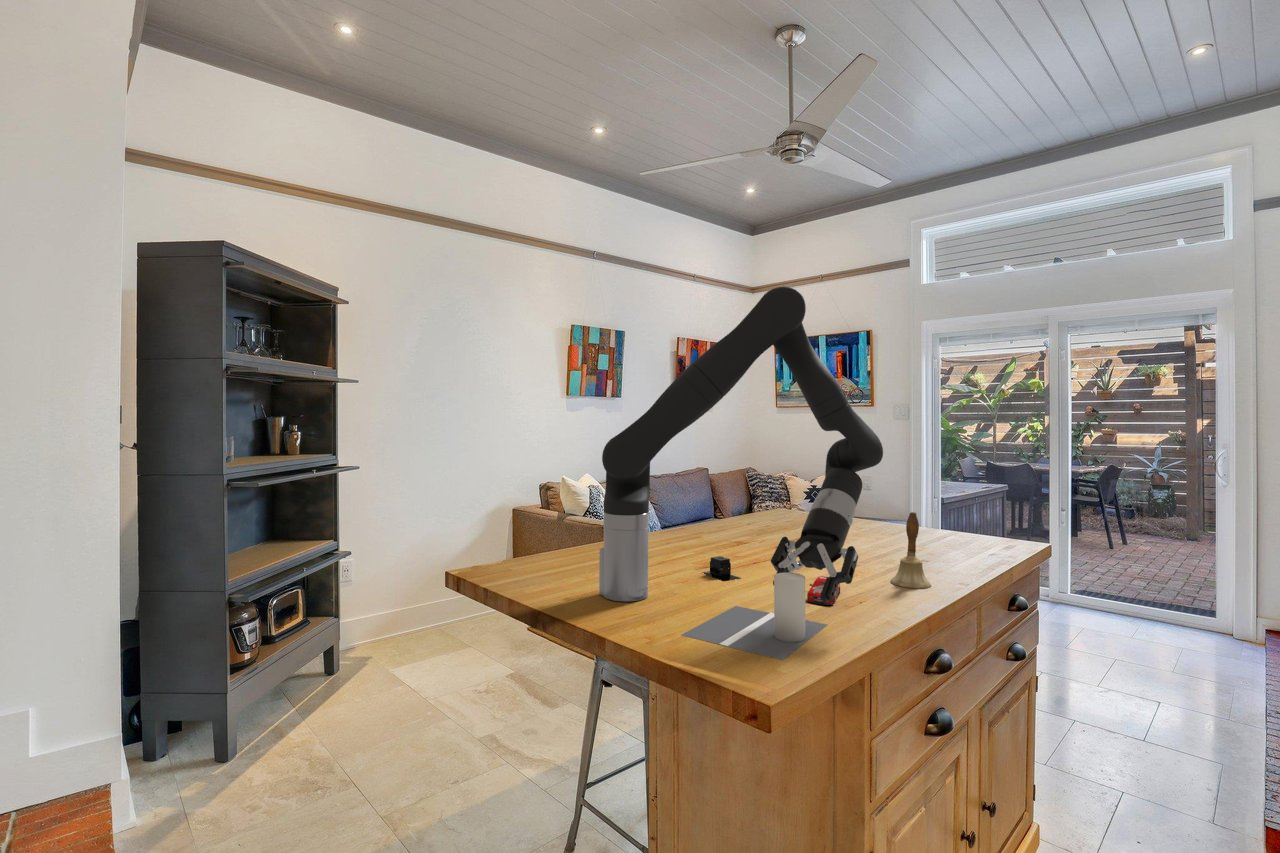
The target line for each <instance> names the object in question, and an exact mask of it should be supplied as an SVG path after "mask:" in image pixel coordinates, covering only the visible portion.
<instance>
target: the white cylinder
mask: <svg viewBox="0 0 1280 853" xmlns="http://www.w3.org/2000/svg"><path fill="white" fill-rule="evenodd" d="M776 573H777V572H776ZM776 573H775V574H774V576H773V581H774V585H773V590H774V591H773V592H774V593H773V595H774V596H773V598H774V600H773V602H774V604H773V609H774V610H773V611H774V612H773V613H774V636H775V637H776V638H777V639H779V640H782V641H786V642H799V641H803V640H804V639H805V620H806V576H805V575H804V574H801V573H796V572H791V573H777V574H776Z"/></svg>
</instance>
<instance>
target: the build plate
mask: <svg viewBox="0 0 1280 853" xmlns="http://www.w3.org/2000/svg"><path fill="white" fill-rule="evenodd" d="M731 567H732V563H731V559H730V558H727V557H724V556H721V555H720V556H719V555H717V556H712V557H710V561H709V570H708V571H707V572H706V571H702V573H704V574H706V575H705V576H707V575H708V576H707V577H710V576H711V577H710V578H713V579H715V578H716V580H719V581H722V582H729V581H735V579H737V580H742V579H741V578H742V577H740V576H737V575H735V574H734V575H733V574H732V573H731V572H732V568H731ZM702 573H701V574H702ZM704 574H703V575H704Z"/></svg>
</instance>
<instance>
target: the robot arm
mask: <svg viewBox="0 0 1280 853" xmlns="http://www.w3.org/2000/svg"><path fill="white" fill-rule="evenodd" d="M806 306H807V305H806V301H805V297H804V295H802V293H801V292H800V291H799V290H798V289H796V288H793V287H791V286H783V285H782V286H777V287H774V288H771V289H770V290H768V291H767V292H765V293H764V294H763V295H762V297H760V299H759V301H757V302H756V304H755V306H753V308H752V309H751V310H750V311H749V312H748V314H746V315H745V317H744V318H743V319H742V320H741V321H740V322H739V323H738V324H737V325H736V327H734V328H733V329H732V330H731V331H730V332H729V333H727V334H726V335H725V336H724V337H722V338H721V339H720V340H718V341H717V342H716V343H714V344H713V345H712V346H711V347H709V348H708V349H707V350H706V351H705V352H703V354H701V355H700V356H699V357H697V359H695V360H694V361H693V362H692V363H691V364H690V365H688V367H687V368H685V370H684V371H682V372H681V373H680V375H678V377H676V378H675V379H674V381H672V383H670V384H669V386H668V387H667V388H666V389H665V390H664V391H663V392H662V393H661V395H659V397H658V398H657V399H656V401H654V403H653V404H652V405H651V406H650V407H649V409H648V410H647V411H645V413H644V414H643V415H641V416H640V417H638V418H637V419H636V420H635V421H634V422H632V423H631V424H630V425H629V426H627V427H626V428H625V429H623V430H622V431H621V432H619V433H618V434H617V435H615V436H613V437H612V438H610V439H609V440H608V442H606V443H605V446H604V448H603V451H602V455H601V459H602V460H601V462H602V466H603V468H604V470H605V489H604V490H605V491H604V492H605V493H604V498H603V547H601V548H599V556H598V558H599V563H598V564H599V572H598V574H599V578H598V579H599V582H598V583H599V584H598V585H599V587H598V589H599V590H598V594H599V595H600V596H602V597H604V598H605V599H607V600H610V601H615V602H636V601H642V600H644V599H646V598H648V597H649V532H650V531H649V523H650V522H649V512H650V510H649V509H650V508H649V507H650V506H649V505H650V495H651V494H650V493H651V490H650V489H651V488H650V487H651V486H650V484H651V483H650V482H651V462H652V460H653V459H654V458H655V457H656V456H657V454H658V453H659V452H660V451H661V450H662V449H663V448H664V447H665V446H666V445H667V444H668V443H669V442H670V441H671V440H672V439H673V438H674V437H676V436H677V435H679V433H681V432H682V431H683V430H686V429H687V428H688V427H689V426H691V425H693V424H694V423H695V422H696V421H697V420H699V419H700V418H702V417H703V416H704V415H705V414H706V413H708V412H709V411H710V410H711V409H712V408H713V407H714V406H716V405H717V404H718V403H719V402H720V401H721V400H722V399H723V398H724V397H725V396H726V395H727V394H729V392H730V391H732V389H733V388H734V387H735V386H736V385H737V383H739V381H740V380H741V379H742V378H743V377H744V375H745V374H746V373H747V371H748V370H749V369H750V368H751V366H752V365H753V364H754V363H755V362H756V360H758V358H759V357H760V356H761V355H762V354H764V353H765V352H766V351H767V350H768V349H770V348H771V347H772V346H773V347H774V348H775V350H776V352H778V354H779V356H781V358H782V359H783V361H784V363H785V364H786V366H787V367H788V369H789V371H790V373H791V374H792V376H793V379H794V380H795V381H796V384H797V386H798V388H799V389H800V391H801V393H802V396H803V397H804V400H805V402H806V403H807V404H808V407H809V409H810V411H811V412H812V414H813V416H814V418H815V419H816V422H817V424H818V425H819V427H820V428H821V429H822V431H825V432H839V433H840V434H841V435H842V436H843V437H844V438H842V439H839V440H837V441H835V442H834V443H833V444H832V445H831V446H830V447H829V449H828V451H827V454H826V461H825V472H824V473H825V474H824V479H823V482H822V485H821V487H820V489H819V492H818V494H817V495H816V497H815V499H814V501H813V502H812V505H811V506H810V509H809V513H808V514H807V517H806V520H805V522H804V524H803V527H802V529H801V533H800V537H799V538H798V539H797V540H796V541H794V540H789V538H788V537H787V536H783V537H781V539H780V542H779V543H778V545H777V547H776V549H775V551H774V553H773V555H772V557H771V559H770V563H771V564H772V566H773V568H774V570H775V571H776V573H775V574H777V573H794V571H799V570H801V569H803V568H804V567H805V568H808V569H811V568H814V569H815V570H819V571H822V570H823V569H826V571H827V573H828V575H829V576H826V577H827V578H826V581H825V584H824V587H823V589H822V592H821V599H822V601H823V602H825V603H828V602H829V600H832V599H833V597H834V595H835V592H836V589H837V586H838V585H839V584H843V583H845V584H847V585H849V584H852V582H853V579H854V576H855V575H854V574H855V571H856V567H857V564H858V560H859V555H858V552H857V550H856V548H855V546H852V545H850V546H848V547H847V548H843V547H844V546H845V541H846V539H847V536H848V533H849V531H850V528H851V525H852V524H853V522H854V521H853V520H854V516H855V512H856V507H857V504H858V502H859V499H860V496H861V493H862V490H863V480H862V477H860V475H859V474H858V473H857V472H860V471H864V470H867V469H870V468H873V467H875V466H877V465H879V464H880V463H881V461H882V459H883V458H884V447H883V444H882V442H881V439H880V438H879V436H878V435H877V434H876V433H875V431H874V430H873V429H872V428H871V427H870V426H869V425H868V424H867V423H866V422H865V421H864V420H863V419H862V417H861V416H860V415H859V414H857V413H856V411H855V410H854V409H853V408H852V405H851V403H850V402H849V400H848V398H847V397H846V395H845V393H844V391H843V389H842V388H841V386H840V384H839V383H838V381H837V378H835V376H834V375H833V374H832V372H831V370H829V368H828V367H827V366H826V365H825V363H824V362H823V360H822V359H821V358H820V357H819V355H818V354H817V352H816V351H815V349H814V347H813V345H812V344H811V342H810V339H809V337H808V335H807V332H806V329H805V327H804V324H803V321H804V319H805V316H806V311H807V310H806V308H807V307H806ZM841 557H842V559H843V563H842V567H841V570H840V571H837V570H836V568H835V566H834V564H833V563H835V562H836V561H837V560H839V559H841ZM797 559H799V560H798V561H797ZM772 586H774V580H772Z"/></svg>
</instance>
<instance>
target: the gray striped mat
mask: <svg viewBox="0 0 1280 853" xmlns="http://www.w3.org/2000/svg"><path fill="white" fill-rule="evenodd" d="M828 626H829V624H828V623H822V622H818V621H817V622H816V621H812V620H807V619H805V639H804V640H803V641H799V642H786V641H782V640H779V639H777V638H776V637H775V636H774V612H767V611H763V610H757V609H752V608H748V607H744V606H743V607H742V606H737V605H735V606H733V607H731V608H729V609H727V610H725V611H723V612H722V613H720V614H717V615H716V616H714V617H712V618H710V619H709V620H706V621H704V622H702V623H700V624H699V625H697V626H695V627H693V628H691V629H689V630H687V631H685V632H684V633H682V634H681V636H682V637H686V638H687V637H688V638H691V639H695V640H700V641H703V642H707V643H712V644H715V645H717V646H718V645H719V646H724V647H727V648H731V649H735V650H740V651H743V652H747V653H751V654H756V655H760V656H764V657H768V658H770V659H771V658H772V659H776V660H779V661H785V659H786V658H788V657H790V655H792V654H793V653H795V651H797V650H798V649H799V648H801V647H802V646H803V645H804V644H806V643H807V642H808V641H809V640H811V639H812V638H814V637H815V636H816V635H817V634H819V633H820V632H821V631H823V629H825V628H826V627H828Z"/></svg>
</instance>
